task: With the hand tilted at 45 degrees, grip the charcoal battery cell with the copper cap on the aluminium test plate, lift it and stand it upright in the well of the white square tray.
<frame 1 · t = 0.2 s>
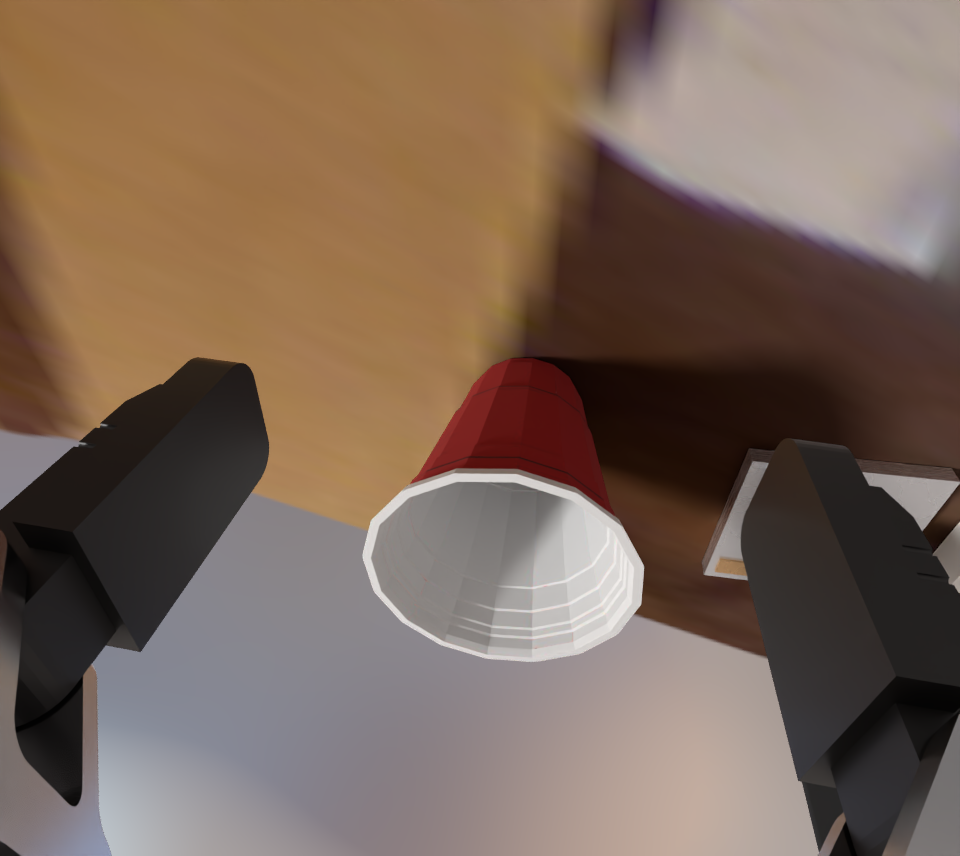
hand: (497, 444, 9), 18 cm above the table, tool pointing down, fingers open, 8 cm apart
plastic cup: (526, 395, 31), on the table
black carrying case: (884, 709, 46), on the table
test plate: (812, 520, 33), on the table
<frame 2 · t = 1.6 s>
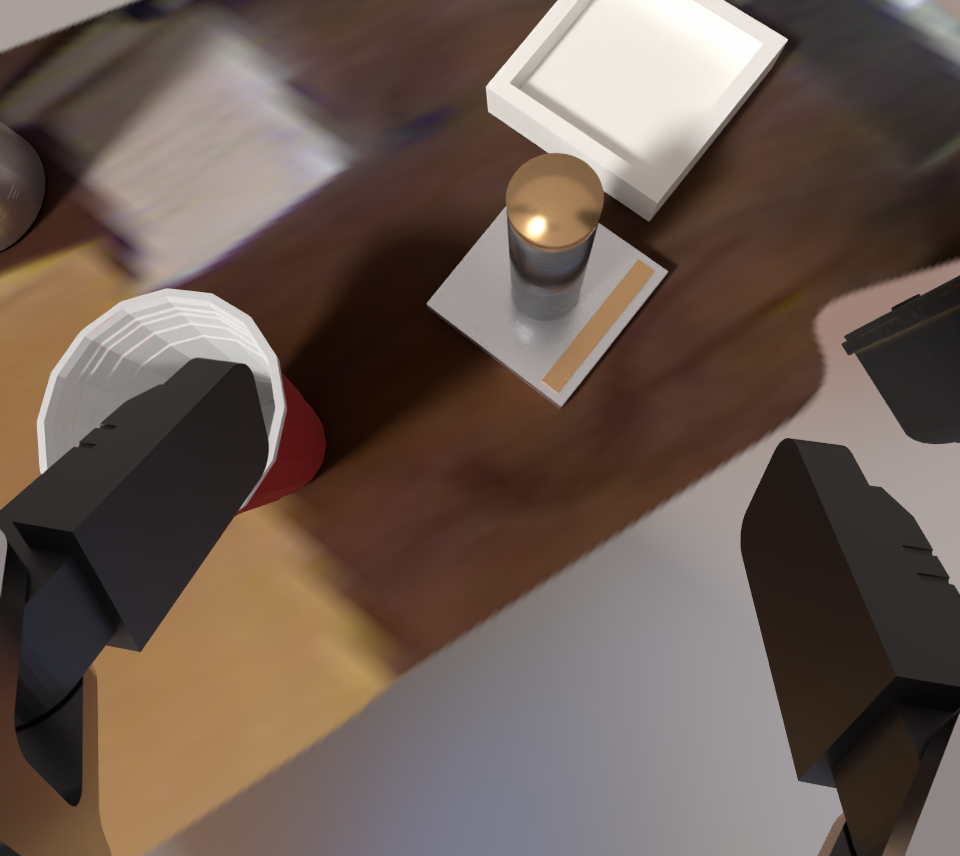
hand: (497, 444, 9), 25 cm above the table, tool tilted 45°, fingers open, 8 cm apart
plastic cup: (279, 443, 35), on the table
battery cell: (545, 287, 34), point 1 cm above the table, touching test plate
white square tray: (628, 90, 36), on the table
test plate: (545, 294, 35), on the table
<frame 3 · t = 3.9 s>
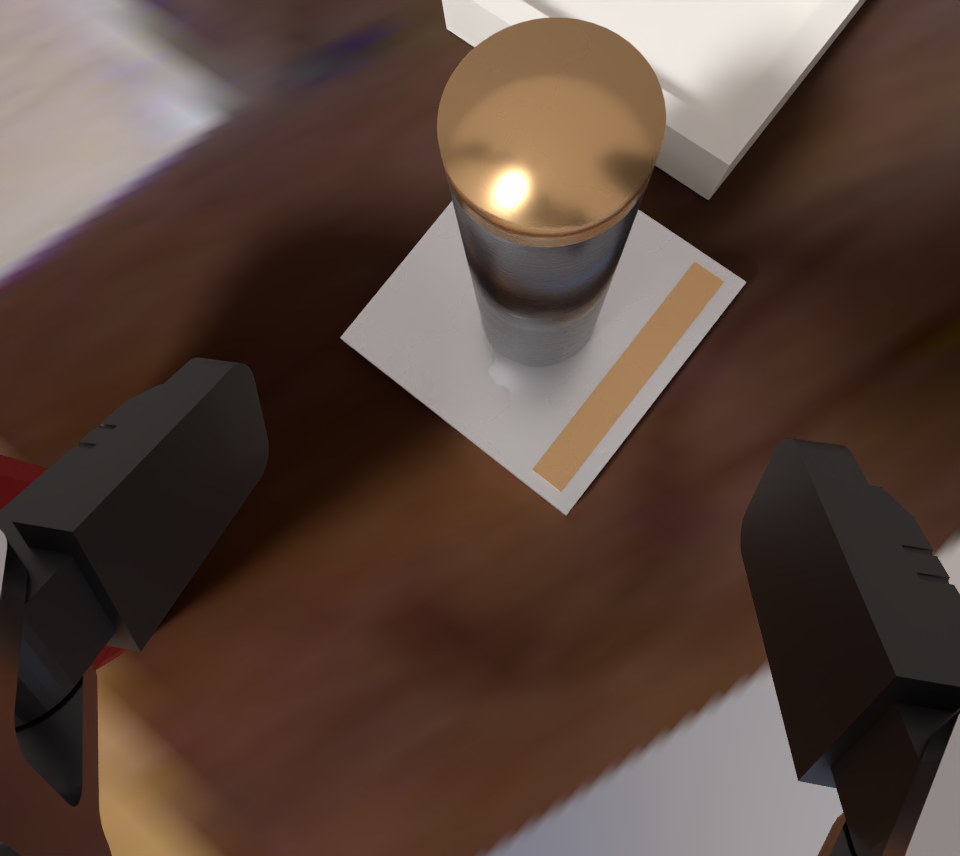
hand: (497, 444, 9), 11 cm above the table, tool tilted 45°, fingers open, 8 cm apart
plastic cup: (104, 567, 21), on the table
battery cell: (538, 310, 20), point 1 cm above the table, touching test plate
test plate: (538, 319, 21), on the table
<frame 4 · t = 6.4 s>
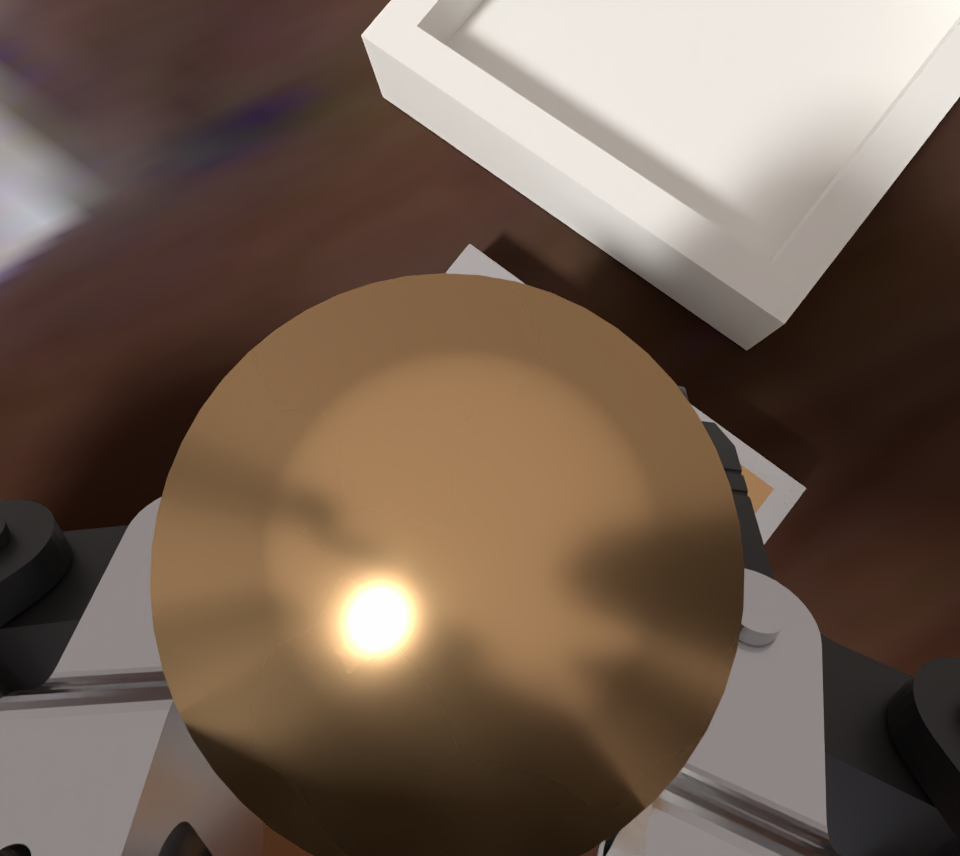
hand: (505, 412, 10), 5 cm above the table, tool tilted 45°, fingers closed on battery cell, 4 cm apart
battery cell: (501, 521, 14), point 1 cm above the table, touching gripper, test plate
white square tray: (691, 47, 16), on the table
test plate: (503, 520, 15), on the table
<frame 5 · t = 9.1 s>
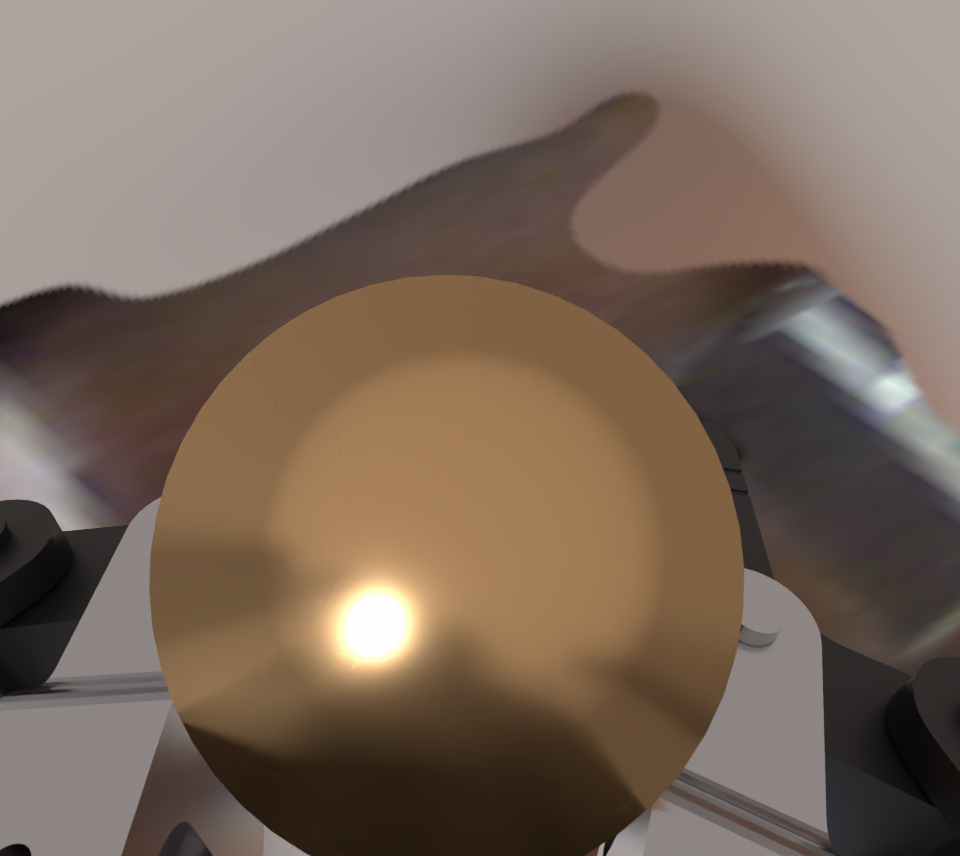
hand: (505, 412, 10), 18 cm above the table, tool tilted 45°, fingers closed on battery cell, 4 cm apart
battery cell: (501, 522, 14), point 13 cm above the table, touching gripper
test plate: (395, 811, 25), on the table
when the fingers open (7 cm above the table, at t = 11.8 s): battery cell drops 1 cm, resting on white square tray.
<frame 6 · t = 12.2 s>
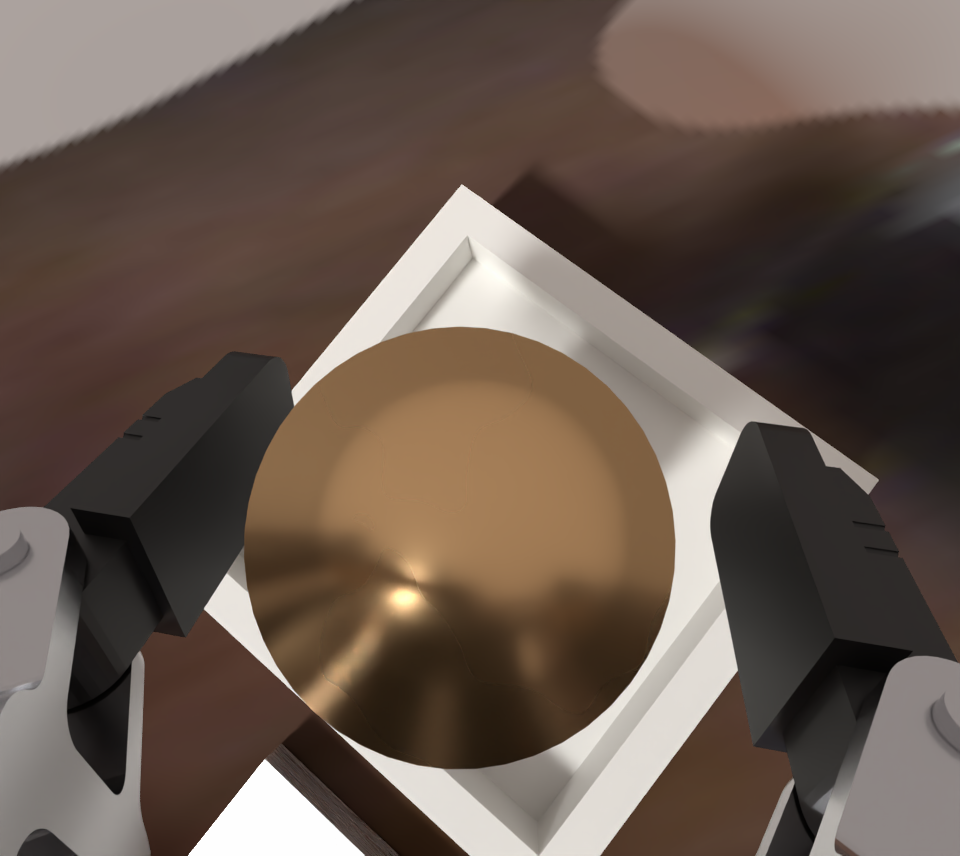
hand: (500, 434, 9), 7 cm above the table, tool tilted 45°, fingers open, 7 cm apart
battery cell: (503, 524, 15), point 1 cm above the table, touching white square tray
white square tray: (504, 519, 16), on the table
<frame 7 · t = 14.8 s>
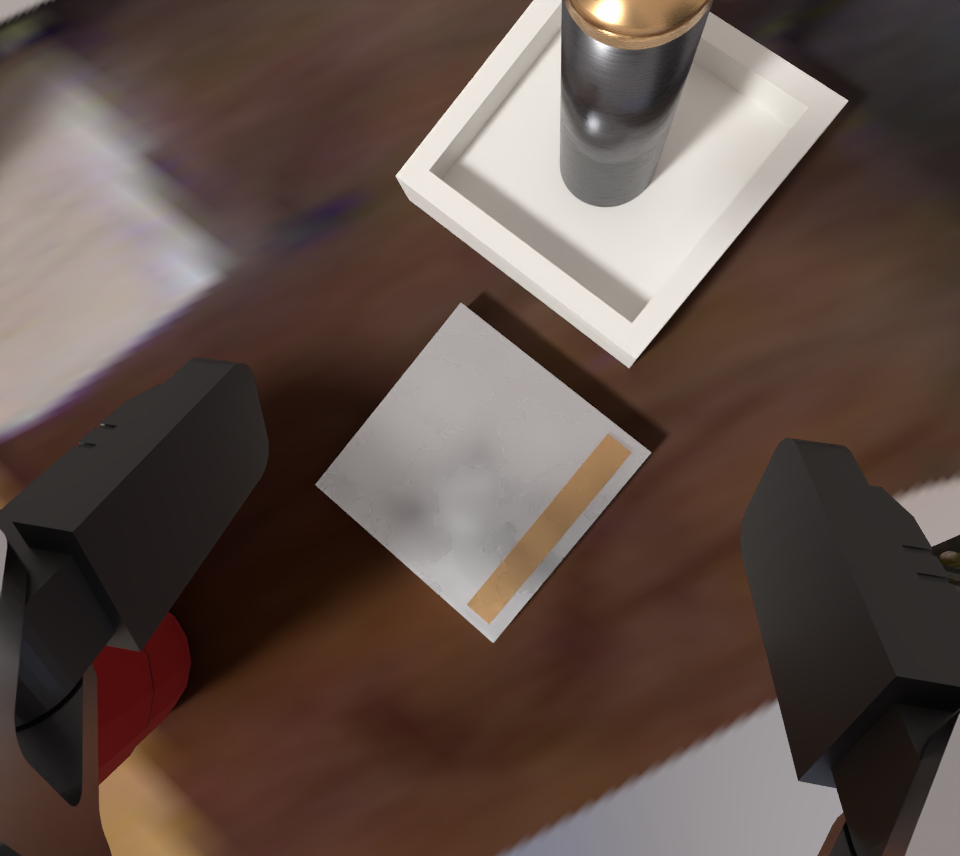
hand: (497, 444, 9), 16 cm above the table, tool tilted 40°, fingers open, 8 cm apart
plastic cup: (135, 654, 27), on the table
battery cell: (607, 160, 24), point 1 cm above the table, touching white square tray
white square tray: (606, 168, 25), on the table
test plate: (480, 468, 25), on the table
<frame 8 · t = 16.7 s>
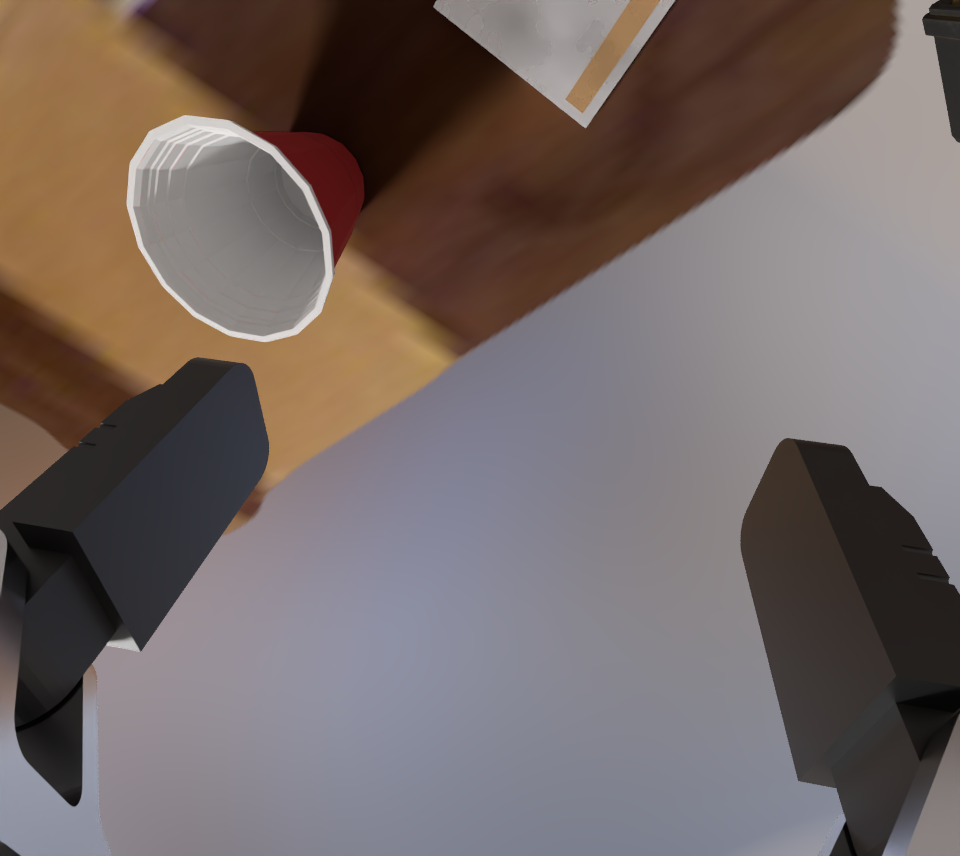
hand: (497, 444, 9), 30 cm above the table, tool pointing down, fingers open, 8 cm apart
plastic cup: (320, 178, 37), on the table
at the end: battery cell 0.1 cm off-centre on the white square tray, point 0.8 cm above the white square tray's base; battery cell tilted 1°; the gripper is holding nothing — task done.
